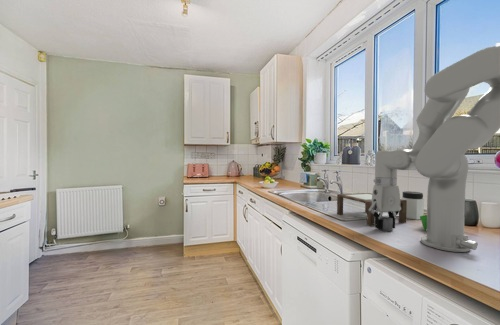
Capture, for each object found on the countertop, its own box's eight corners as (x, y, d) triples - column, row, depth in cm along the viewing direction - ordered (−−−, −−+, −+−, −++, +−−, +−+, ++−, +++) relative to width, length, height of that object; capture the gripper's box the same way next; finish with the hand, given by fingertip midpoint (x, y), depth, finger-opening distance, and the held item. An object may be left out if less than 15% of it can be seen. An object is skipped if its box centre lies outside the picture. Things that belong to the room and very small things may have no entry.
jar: (426, 220, 112) (427, 194, 112) (406, 219, 114) (407, 193, 113) (417, 215, 121) (417, 191, 121) (399, 215, 122) (399, 191, 122)
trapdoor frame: (406, 222, 107) (406, 200, 107) (370, 226, 102) (370, 202, 102) (368, 212, 129) (368, 193, 129) (337, 214, 124) (337, 194, 123)
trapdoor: (396, 202, 109) (397, 199, 109) (370, 204, 105) (371, 200, 105) (368, 196, 126) (368, 193, 126) (344, 197, 122) (344, 194, 122)
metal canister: (395, 231, 95) (396, 218, 95) (384, 232, 94) (385, 219, 93) (385, 227, 100) (385, 215, 100) (374, 228, 99) (374, 216, 98)
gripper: (375, 183, 90) (374, 232, 91) (411, 182, 95) (410, 229, 96) (360, 181, 98) (360, 227, 98) (394, 180, 102) (394, 224, 103)
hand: (384, 227), depth 97 cm, fingers closed on metal canister, 5 cm apart
